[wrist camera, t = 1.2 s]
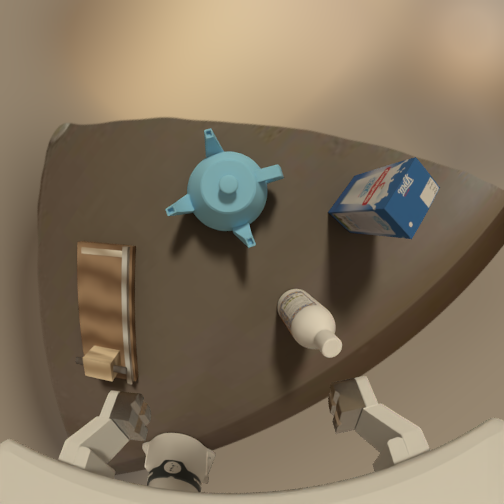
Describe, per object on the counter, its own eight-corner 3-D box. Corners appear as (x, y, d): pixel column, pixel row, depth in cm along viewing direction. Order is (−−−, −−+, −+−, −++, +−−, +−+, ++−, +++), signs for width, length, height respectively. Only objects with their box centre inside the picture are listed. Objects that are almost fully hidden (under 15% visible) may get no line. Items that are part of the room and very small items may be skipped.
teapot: (246, 249, 51) (253, 256, 40) (172, 215, 49) (159, 213, 38) (281, 174, 50) (296, 163, 40) (208, 141, 48) (205, 121, 37)
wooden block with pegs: (132, 369, 49) (124, 384, 43) (86, 359, 47) (75, 372, 41) (131, 352, 48) (122, 366, 42) (84, 343, 47) (71, 355, 41)
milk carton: (354, 175, 52) (415, 156, 32) (375, 196, 53) (440, 187, 33) (327, 212, 52) (384, 208, 32) (349, 232, 53) (411, 239, 33)
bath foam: (270, 313, 53) (297, 361, 33) (287, 282, 52) (325, 315, 33) (299, 327, 54) (337, 376, 34) (317, 297, 53) (364, 334, 34)
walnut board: (138, 376, 51) (134, 384, 48) (89, 366, 50) (83, 374, 46) (135, 245, 48) (130, 247, 45) (82, 241, 47) (74, 242, 44)
